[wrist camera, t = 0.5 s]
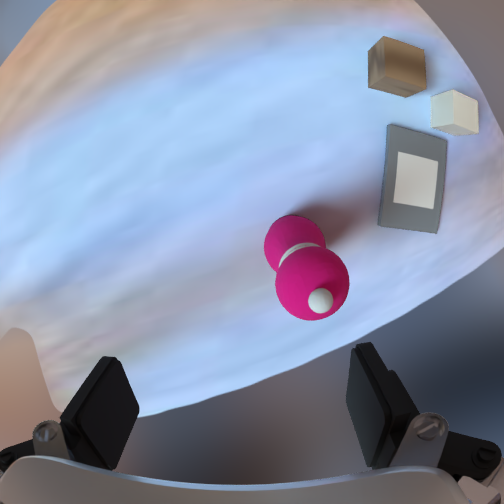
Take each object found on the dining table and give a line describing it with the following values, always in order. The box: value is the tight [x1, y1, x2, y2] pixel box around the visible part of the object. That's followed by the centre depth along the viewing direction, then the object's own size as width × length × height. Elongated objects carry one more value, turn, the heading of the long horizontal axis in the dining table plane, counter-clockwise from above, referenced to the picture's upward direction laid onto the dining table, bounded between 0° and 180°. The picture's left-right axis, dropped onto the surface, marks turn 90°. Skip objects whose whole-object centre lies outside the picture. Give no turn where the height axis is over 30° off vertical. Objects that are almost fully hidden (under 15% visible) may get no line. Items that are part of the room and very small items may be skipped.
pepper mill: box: [264, 215, 349, 320], centre depth 29 cm, size 7×7×20 cm
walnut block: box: [368, 36, 426, 98], centre depth 29 cm, size 6×6×6 cm
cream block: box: [431, 89, 479, 136], centre depth 30 cm, size 5×5×6 cm
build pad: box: [378, 125, 447, 234], centre depth 35 cm, size 14×10×1 cm
